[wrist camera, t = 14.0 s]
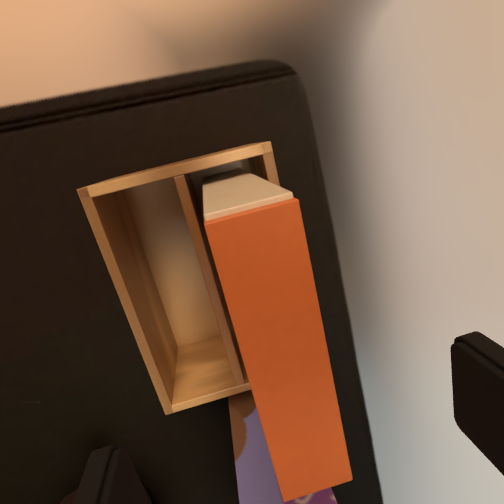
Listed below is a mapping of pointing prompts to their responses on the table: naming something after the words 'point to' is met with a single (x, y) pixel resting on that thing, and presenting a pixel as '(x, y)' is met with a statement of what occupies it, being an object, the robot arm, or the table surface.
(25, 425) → the table surface
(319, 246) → the table surface
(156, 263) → the book rack
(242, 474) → the cereal box
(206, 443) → the table surface
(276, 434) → the book
